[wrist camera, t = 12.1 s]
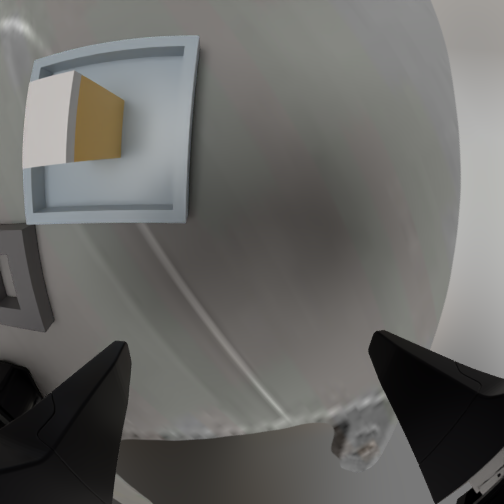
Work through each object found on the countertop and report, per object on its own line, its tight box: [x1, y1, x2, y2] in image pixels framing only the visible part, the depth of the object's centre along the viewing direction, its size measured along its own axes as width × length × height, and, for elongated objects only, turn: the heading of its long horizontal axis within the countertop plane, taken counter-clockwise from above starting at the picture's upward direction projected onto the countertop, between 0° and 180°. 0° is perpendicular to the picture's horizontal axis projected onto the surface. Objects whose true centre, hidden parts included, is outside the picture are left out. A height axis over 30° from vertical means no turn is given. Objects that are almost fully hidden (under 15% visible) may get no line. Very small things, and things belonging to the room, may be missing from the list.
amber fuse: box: [23, 70, 125, 169], centre depth 12 cm, size 4×2×8 cm, turn 176°
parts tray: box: [23, 36, 200, 225], centre depth 15 cm, size 12×12×2 cm
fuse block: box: [0, 223, 54, 332], centre depth 17 cm, size 9×8×2 cm
